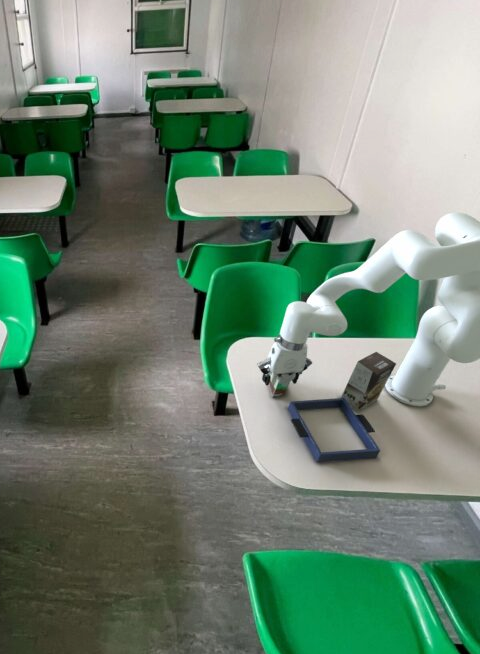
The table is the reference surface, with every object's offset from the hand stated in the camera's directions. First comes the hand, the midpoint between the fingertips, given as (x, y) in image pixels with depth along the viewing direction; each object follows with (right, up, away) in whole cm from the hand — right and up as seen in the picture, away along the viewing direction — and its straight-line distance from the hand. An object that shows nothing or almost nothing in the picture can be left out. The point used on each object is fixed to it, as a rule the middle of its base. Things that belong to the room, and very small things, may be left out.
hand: (279, 381), depth 135 cm
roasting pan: (+9, -13, -13) cm, 20 cm away
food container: (+1, -3, +2) cm, 3 cm away
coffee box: (+23, -5, -3) cm, 24 cm away
